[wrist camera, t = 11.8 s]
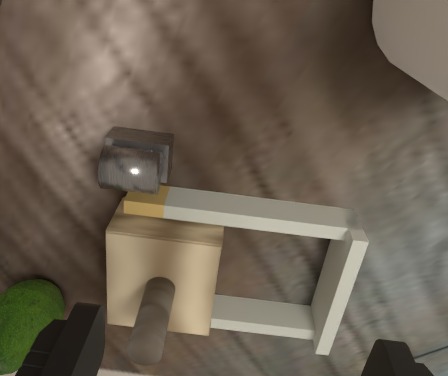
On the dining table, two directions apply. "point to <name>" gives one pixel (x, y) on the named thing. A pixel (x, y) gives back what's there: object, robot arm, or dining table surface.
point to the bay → (283, 223)
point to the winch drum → (135, 160)
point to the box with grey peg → (160, 278)
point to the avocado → (26, 318)
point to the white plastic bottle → (415, 39)
